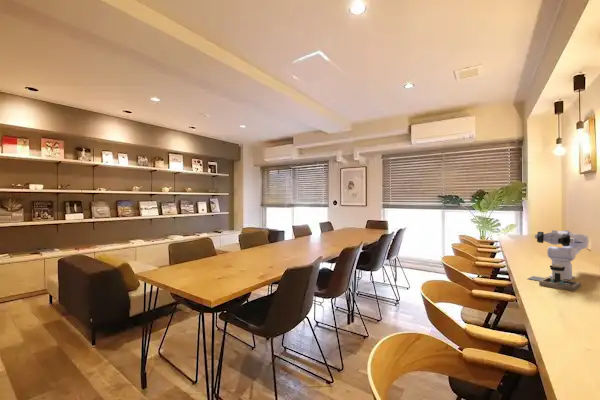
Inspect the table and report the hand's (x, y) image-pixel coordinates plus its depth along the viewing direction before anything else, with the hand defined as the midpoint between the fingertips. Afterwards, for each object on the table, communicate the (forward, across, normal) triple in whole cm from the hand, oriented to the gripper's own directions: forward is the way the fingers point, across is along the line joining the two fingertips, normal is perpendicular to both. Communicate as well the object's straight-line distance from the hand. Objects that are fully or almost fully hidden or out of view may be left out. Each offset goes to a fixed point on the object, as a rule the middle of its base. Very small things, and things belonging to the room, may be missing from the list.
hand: (548, 239), depth 136 cm
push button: (0, +5, +21) cm, 22 cm away
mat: (-6, -4, +21) cm, 23 cm away
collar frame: (0, +5, +21) cm, 22 cm away
